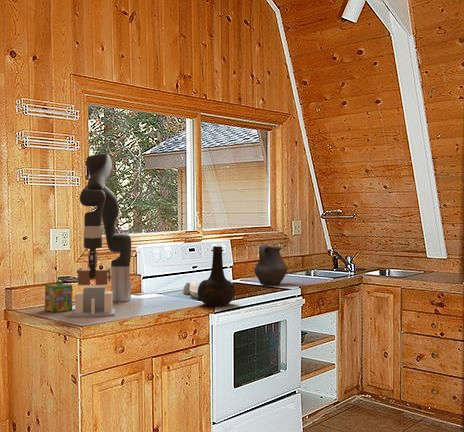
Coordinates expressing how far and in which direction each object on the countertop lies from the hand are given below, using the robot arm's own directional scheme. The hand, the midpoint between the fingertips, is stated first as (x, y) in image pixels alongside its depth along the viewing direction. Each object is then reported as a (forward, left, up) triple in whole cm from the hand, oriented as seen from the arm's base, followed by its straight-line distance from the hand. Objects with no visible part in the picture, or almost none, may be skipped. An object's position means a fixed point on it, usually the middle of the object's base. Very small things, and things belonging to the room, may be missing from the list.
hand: (92, 277), depth 239 cm
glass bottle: (-49, +34, -17) cm, 61 cm away
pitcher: (-130, +29, -16) cm, 134 cm away
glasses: (-5, -3, -3) cm, 7 cm away
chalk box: (-5, -23, -17) cm, 29 cm away
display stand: (-5, -3, -16) cm, 17 cm away
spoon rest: (-70, +10, -17) cm, 73 cm away
